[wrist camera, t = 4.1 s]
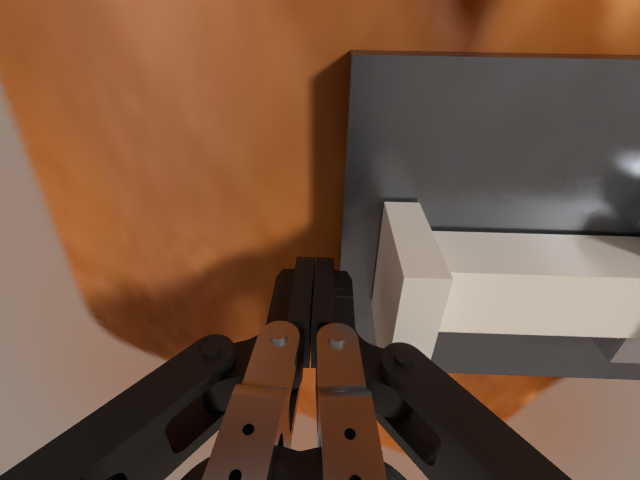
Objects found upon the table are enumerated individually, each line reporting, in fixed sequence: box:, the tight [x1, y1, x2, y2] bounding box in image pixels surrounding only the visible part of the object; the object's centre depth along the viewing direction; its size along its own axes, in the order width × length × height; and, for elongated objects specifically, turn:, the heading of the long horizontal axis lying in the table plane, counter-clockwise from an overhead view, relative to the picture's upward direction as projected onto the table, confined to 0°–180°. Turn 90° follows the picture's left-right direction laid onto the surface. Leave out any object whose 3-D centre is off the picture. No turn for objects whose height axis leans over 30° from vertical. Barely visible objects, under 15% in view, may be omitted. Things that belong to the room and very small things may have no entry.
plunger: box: [372, 202, 640, 360], centre depth 14 cm, size 6×13×5 cm, turn 89°
